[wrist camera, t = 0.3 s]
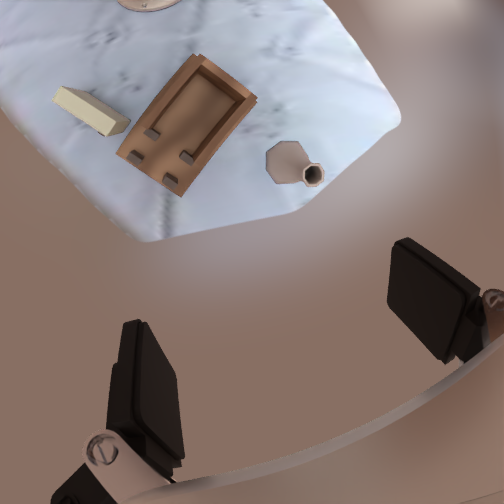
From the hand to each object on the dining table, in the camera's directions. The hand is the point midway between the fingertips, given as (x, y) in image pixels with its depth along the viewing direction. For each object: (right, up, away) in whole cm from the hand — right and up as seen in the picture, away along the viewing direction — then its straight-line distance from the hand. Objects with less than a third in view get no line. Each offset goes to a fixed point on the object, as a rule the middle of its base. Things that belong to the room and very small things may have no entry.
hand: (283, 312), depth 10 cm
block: (-22, +22, +24) cm, 40 cm away
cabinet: (-11, +20, +28) cm, 36 cm away
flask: (+4, +16, +34) cm, 38 cm away
